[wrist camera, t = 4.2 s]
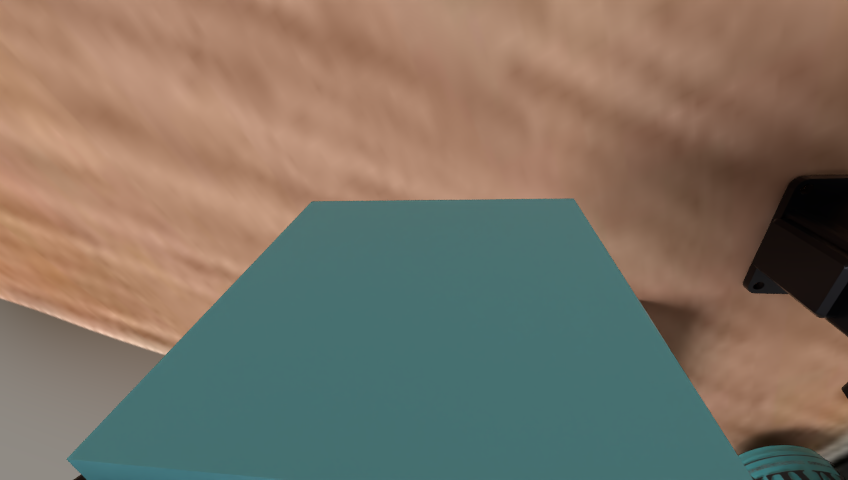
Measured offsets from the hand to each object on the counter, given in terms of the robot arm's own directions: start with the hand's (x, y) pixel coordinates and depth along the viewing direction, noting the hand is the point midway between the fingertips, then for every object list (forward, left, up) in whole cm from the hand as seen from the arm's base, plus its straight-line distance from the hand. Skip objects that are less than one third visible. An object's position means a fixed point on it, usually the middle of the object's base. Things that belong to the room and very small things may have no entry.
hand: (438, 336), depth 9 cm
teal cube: (0, 0, -1) cm, 1 cm away
